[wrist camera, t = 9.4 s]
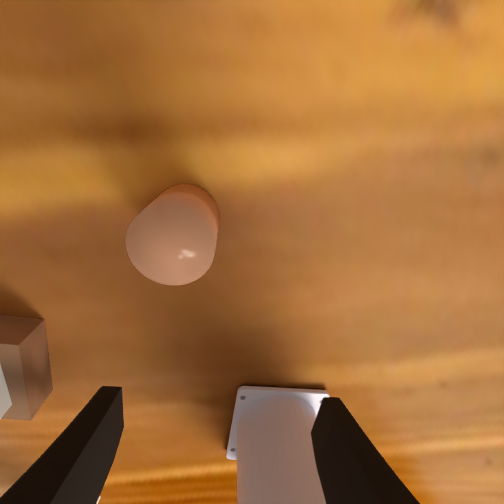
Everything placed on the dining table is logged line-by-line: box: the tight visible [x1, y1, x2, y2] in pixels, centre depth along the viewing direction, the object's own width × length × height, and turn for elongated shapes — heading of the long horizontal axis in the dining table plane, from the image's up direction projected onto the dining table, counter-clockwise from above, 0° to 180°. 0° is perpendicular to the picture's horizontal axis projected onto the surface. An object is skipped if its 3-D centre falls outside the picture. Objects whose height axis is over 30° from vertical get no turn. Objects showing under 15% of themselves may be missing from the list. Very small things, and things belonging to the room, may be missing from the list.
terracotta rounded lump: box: [125, 184, 220, 285], centre depth 15 cm, size 4×4×5 cm
